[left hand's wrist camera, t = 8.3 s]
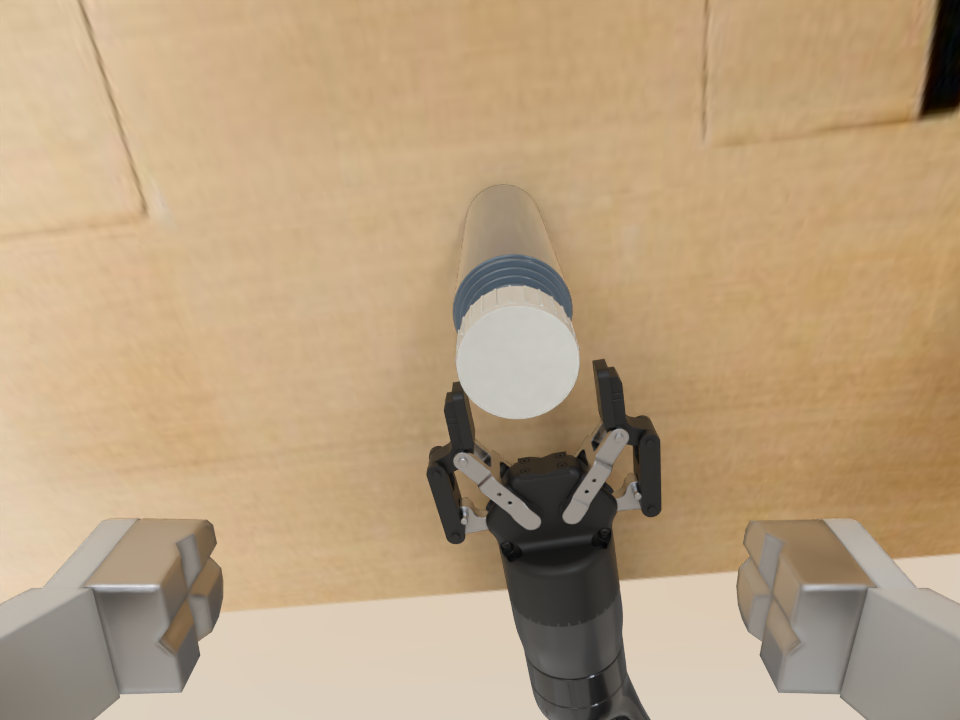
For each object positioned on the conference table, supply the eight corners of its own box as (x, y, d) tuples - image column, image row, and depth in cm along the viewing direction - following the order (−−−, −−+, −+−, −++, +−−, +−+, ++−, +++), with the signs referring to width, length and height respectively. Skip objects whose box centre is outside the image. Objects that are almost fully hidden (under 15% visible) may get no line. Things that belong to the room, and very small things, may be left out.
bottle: (546, 248, 44) (601, 407, 23) (476, 266, 45) (465, 436, 24) (531, 176, 43) (574, 275, 21) (457, 194, 43) (429, 310, 22)
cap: (583, 378, 25) (592, 406, 23) (473, 403, 25) (472, 432, 23) (560, 271, 23) (567, 291, 21) (444, 299, 24) (439, 321, 22)
